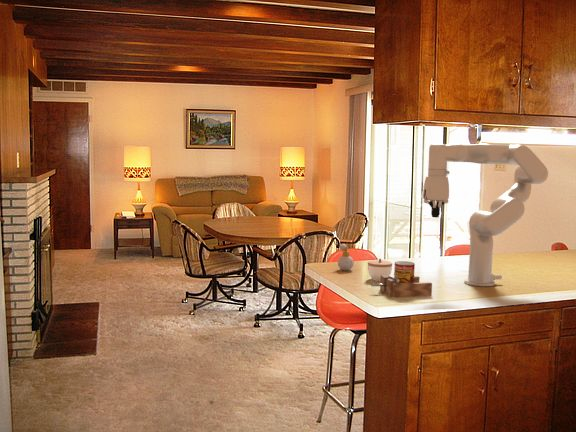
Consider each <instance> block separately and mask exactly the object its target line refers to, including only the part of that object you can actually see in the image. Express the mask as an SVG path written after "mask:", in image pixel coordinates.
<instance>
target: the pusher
mask: <svg viewBox="0 0 576 432" xmlns="http://www.w3.org/2000/svg"><path fill="white" fill-rule="evenodd" d="M388 279H392V280H394V283H399V281H400V280H399V279H398V278H396V277H394V275H392V274H391V275H388ZM370 286H371V287H380V286H386V284H380V283H371V284H370Z"/></svg>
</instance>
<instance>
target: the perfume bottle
mask: <svg viewBox="0 0 576 432" xmlns="http://www.w3.org/2000/svg"><path fill="white" fill-rule="evenodd" d="M339 250H341V252H342V256H340V257H339V258H338V260H337V266H338V268H339V269H340V270H341V271H350V270H351V269H352V268H353V267H354V263H355V262H354V259H353V257H351V256H350V251H349V250H348V246H347V244H345V243H341V244H340V245H339Z"/></svg>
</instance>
